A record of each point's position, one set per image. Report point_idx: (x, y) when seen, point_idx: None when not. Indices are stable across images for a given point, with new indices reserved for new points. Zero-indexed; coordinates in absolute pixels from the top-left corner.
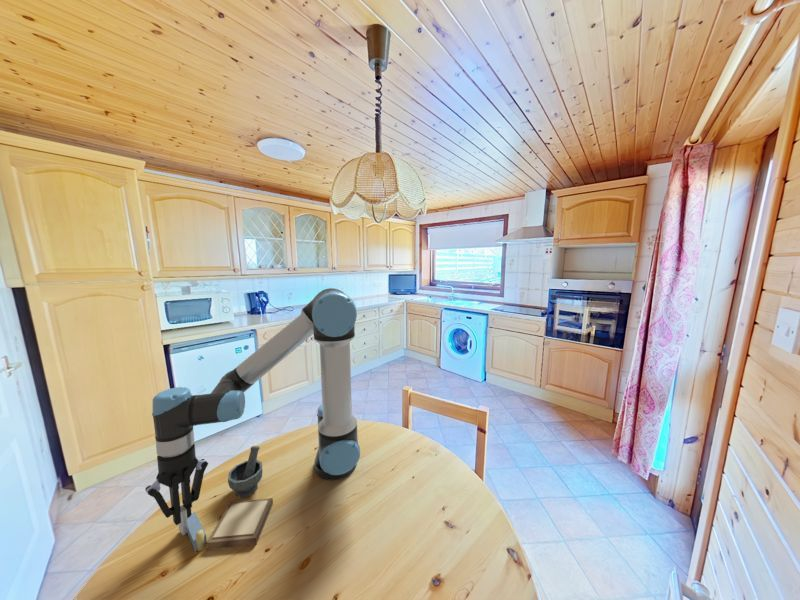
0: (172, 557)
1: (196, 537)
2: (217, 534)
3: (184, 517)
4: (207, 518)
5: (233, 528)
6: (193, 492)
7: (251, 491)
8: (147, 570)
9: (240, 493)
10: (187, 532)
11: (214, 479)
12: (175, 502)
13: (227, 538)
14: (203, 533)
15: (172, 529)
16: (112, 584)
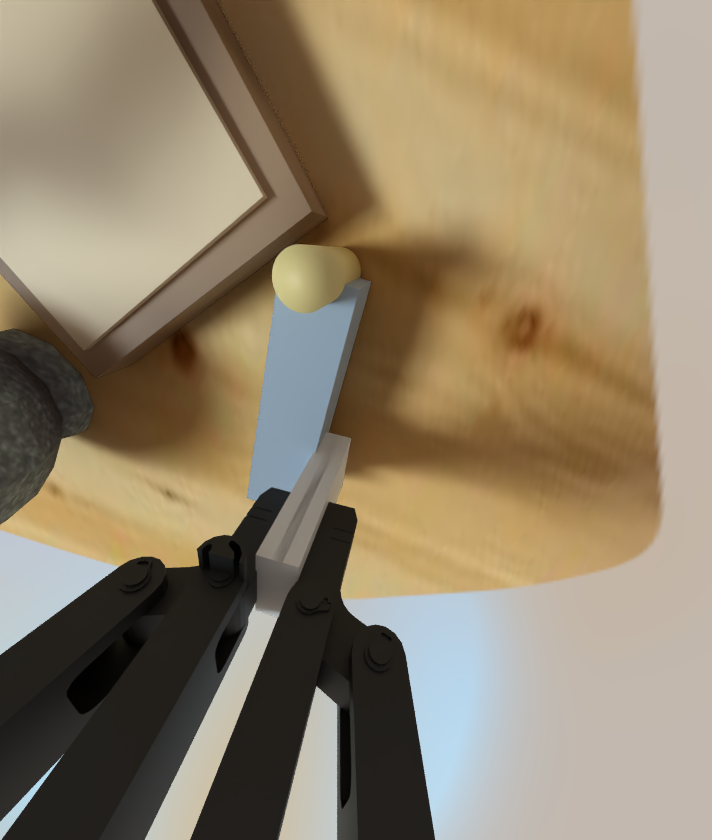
0: (440, 381)
1: (337, 273)
2: (230, 185)
3: (300, 510)
4: (235, 423)
5: (121, 87)
6: (123, 652)
7: (2, 339)
8: (530, 431)
9: (50, 384)
10: None
11: None
12: (269, 785)
13: (192, 33)
14: (286, 255)
15: None
16: (618, 509)
